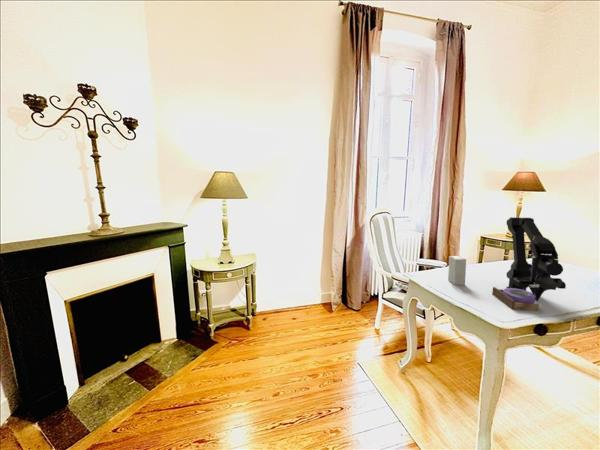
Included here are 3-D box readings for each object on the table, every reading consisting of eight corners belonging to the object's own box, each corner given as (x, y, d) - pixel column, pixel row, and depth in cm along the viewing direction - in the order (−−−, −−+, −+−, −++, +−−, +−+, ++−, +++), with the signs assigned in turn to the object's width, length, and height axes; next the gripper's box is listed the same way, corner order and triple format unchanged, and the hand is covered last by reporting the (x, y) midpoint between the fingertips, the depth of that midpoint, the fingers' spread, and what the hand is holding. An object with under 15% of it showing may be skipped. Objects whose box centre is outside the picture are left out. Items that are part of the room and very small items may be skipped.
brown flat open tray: (511, 309, 118) (512, 300, 117) (492, 294, 133) (493, 287, 132) (538, 311, 116) (539, 302, 115) (515, 296, 131) (516, 288, 131)
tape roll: (522, 310, 117) (523, 299, 116) (496, 299, 128) (497, 289, 127) (540, 306, 120) (542, 296, 119) (513, 296, 131) (515, 286, 130)
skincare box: (465, 285, 145) (467, 259, 143) (453, 285, 146) (456, 259, 144) (457, 279, 154) (459, 255, 151) (446, 279, 154) (448, 255, 152)
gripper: (528, 273, 114) (525, 307, 116) (578, 274, 111) (574, 309, 113) (512, 266, 125) (509, 297, 127) (557, 266, 122) (553, 298, 124)
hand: (536, 300), depth 122 cm, fingers closed
